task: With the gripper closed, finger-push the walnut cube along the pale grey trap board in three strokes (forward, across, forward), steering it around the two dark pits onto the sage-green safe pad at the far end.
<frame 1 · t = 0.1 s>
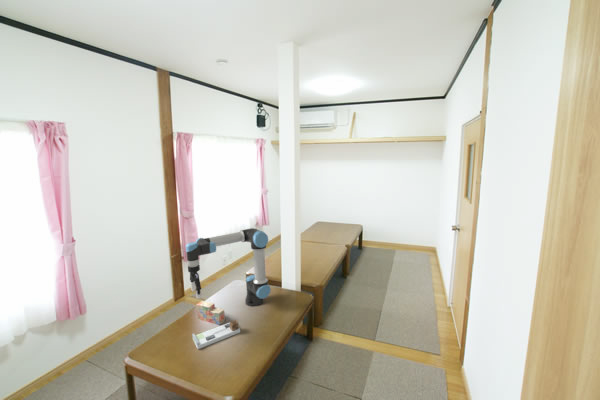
hand: (196, 294, 192), 28 cm above the table, fingers open, 13 cm apart
stack of blocks: (211, 320, 210), on the table
walnut block: (234, 328, 194), point 2 cm above the table, touching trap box
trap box: (216, 335, 191), on the table
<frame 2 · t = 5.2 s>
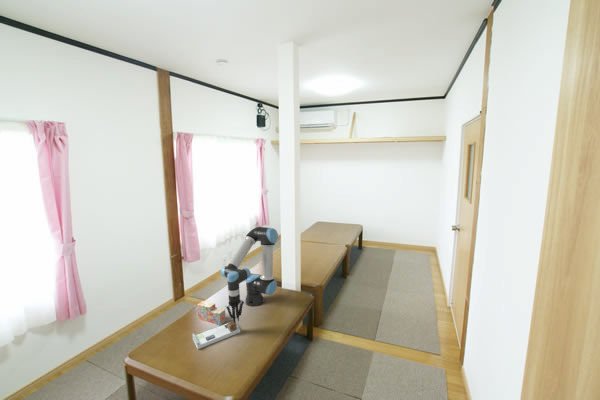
hand: (236, 325, 195), 4 cm above the table, fingers closed
walnut block: (232, 329, 193), point 3 cm above the table, touching gripper, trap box
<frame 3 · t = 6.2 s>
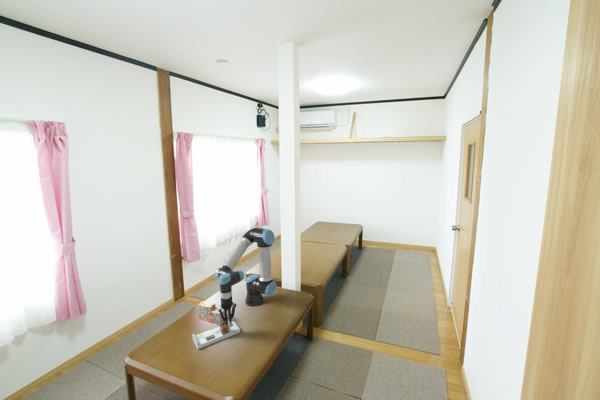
hand: (228, 328, 192), 4 cm above the table, fingers closed
walnut block: (224, 332, 190), point 3 cm above the table, touching gripper, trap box
everything else where it was.
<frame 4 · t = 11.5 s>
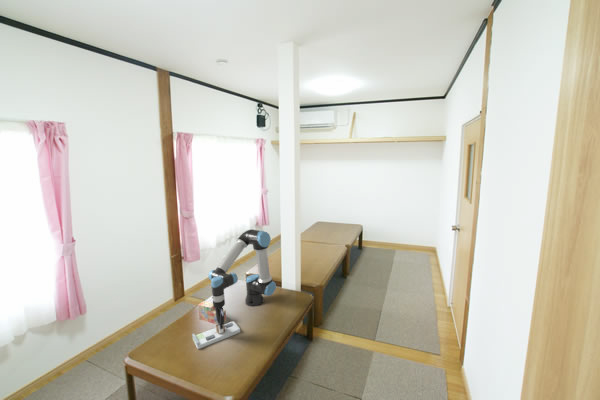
hand: (221, 332, 188), 4 cm above the table, fingers closed
walnut block: (220, 331, 191), point 3 cm above the table, touching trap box
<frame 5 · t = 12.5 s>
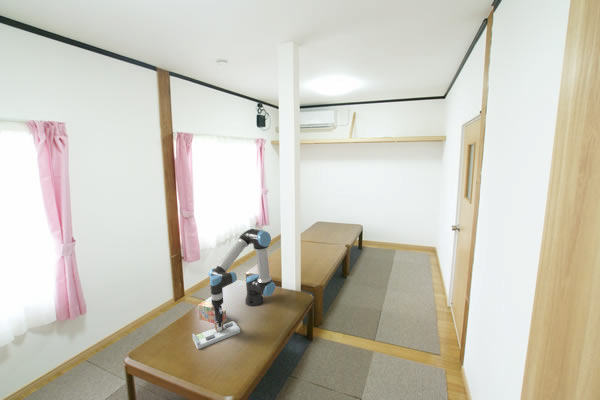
hand: (219, 330, 190), 4 cm above the table, fingers closed
walnut block: (219, 329, 193), point 2 cm above the table, touching gripper, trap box
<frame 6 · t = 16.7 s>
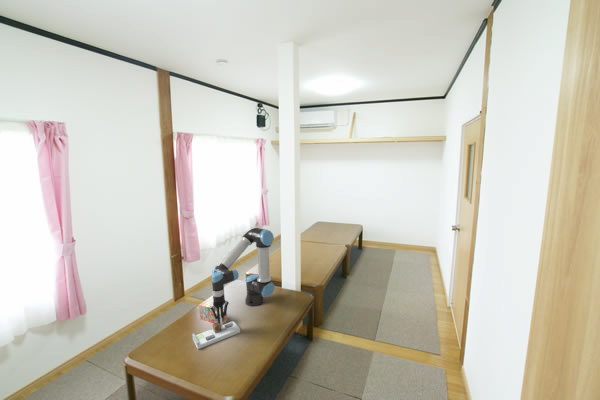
hand: (221, 326, 195), 4 cm above the table, fingers closed
walnut block: (217, 330, 193), point 3 cm above the table, touching gripper
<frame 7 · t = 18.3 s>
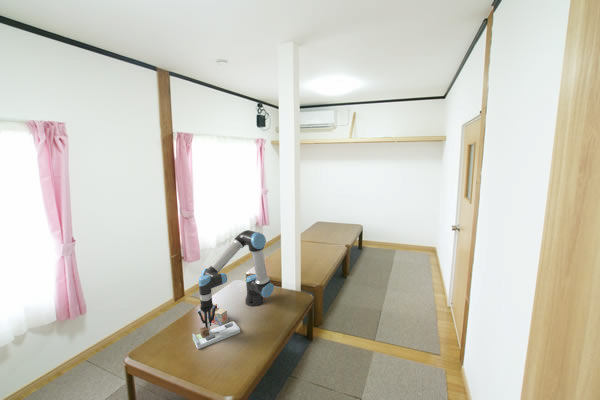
hand: (208, 330, 190), 4 cm above the table, fingers closed
walnut block: (204, 335, 188), point 2 cm above the table, touching gripper, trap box
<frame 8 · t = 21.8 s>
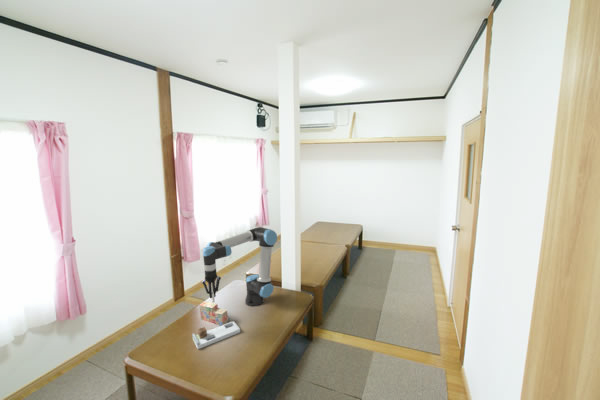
hand: (213, 301, 193), 22 cm above the table, fingers closed
walnut block: (202, 335, 187), point 2 cm above the table, touching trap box
at the end: walnut block 1.4 cm from the target spot on the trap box, point 2.5 cm above the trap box's base; walnut block tilted 0° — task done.
